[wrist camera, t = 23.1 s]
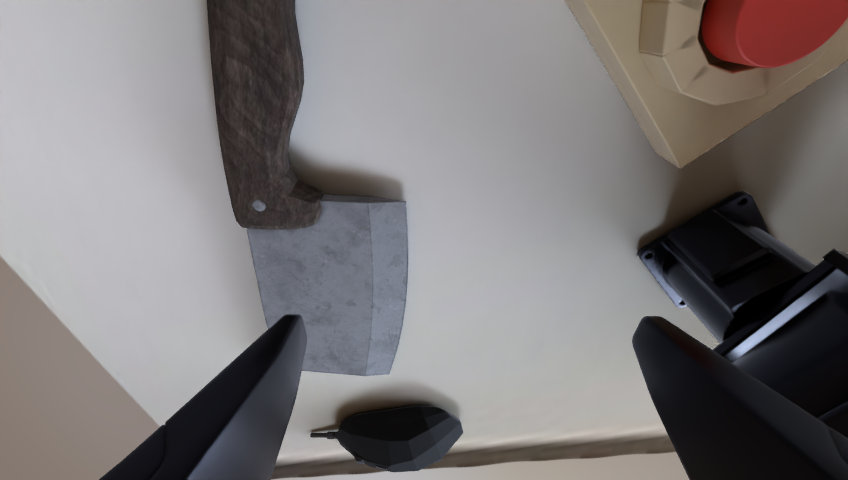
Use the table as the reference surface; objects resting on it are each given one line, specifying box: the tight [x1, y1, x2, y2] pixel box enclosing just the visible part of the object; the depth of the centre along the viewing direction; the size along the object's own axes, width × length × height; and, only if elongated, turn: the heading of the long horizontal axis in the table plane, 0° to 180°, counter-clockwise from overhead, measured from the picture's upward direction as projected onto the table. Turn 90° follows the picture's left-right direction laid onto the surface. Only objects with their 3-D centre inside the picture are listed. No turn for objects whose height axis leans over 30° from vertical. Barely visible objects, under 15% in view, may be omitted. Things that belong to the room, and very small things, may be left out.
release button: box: [702, 0, 848, 68], centre depth 12 cm, size 4×4×2 cm
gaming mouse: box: [310, 405, 463, 472], centre depth 33 cm, size 6×15×4 cm, turn 101°
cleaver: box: [207, 0, 408, 376], centre depth 20 cm, size 30×10×2 cm, turn 176°
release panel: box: [565, 0, 848, 168], centre depth 14 cm, size 11×8×4 cm
